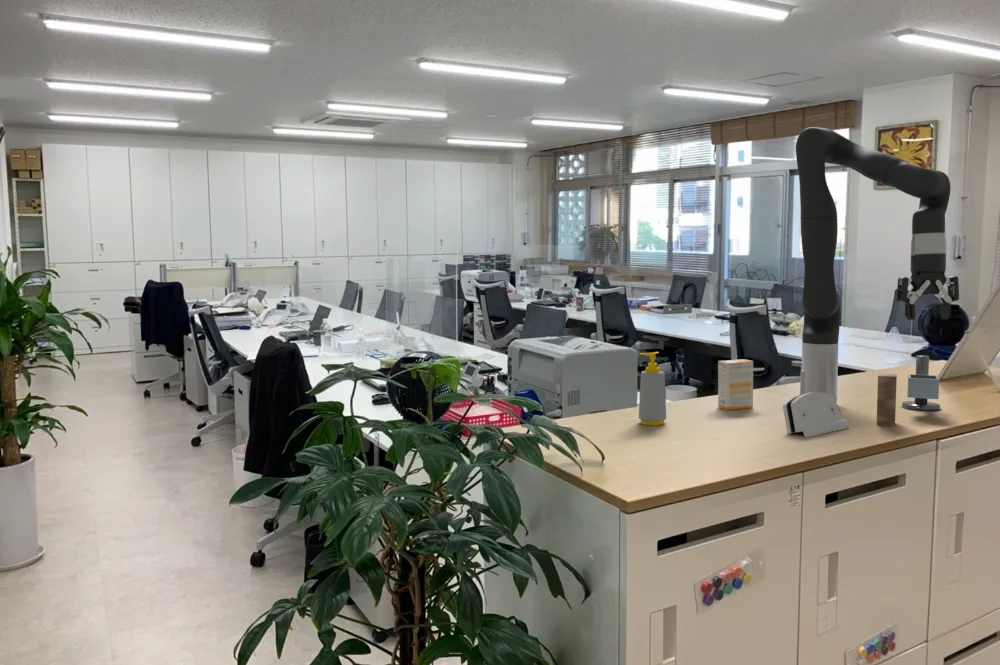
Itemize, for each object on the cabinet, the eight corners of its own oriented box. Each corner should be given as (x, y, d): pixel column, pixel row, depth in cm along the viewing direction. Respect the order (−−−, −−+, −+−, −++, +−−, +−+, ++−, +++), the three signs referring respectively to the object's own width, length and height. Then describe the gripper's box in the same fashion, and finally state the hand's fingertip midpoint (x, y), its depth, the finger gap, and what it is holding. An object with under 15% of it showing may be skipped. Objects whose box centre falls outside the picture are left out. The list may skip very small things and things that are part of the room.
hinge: (805, 437, 174) (793, 394, 176) (788, 440, 178) (777, 398, 180) (850, 428, 182) (838, 387, 184) (833, 431, 186) (821, 391, 188)
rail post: (876, 424, 186) (878, 375, 185) (876, 421, 189) (878, 373, 188) (895, 425, 184) (896, 376, 183) (895, 422, 187) (896, 374, 186)
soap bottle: (633, 421, 194) (633, 351, 192) (657, 419, 196) (658, 350, 194) (646, 427, 187) (646, 354, 185) (671, 424, 189) (672, 353, 187)
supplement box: (743, 405, 212) (744, 358, 211) (753, 408, 208) (754, 360, 207) (717, 407, 210) (717, 360, 209) (726, 410, 206) (727, 362, 204)
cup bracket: (901, 416, 194) (903, 362, 193) (901, 403, 211) (903, 353, 210) (942, 419, 190) (944, 363, 189) (939, 406, 207) (941, 354, 206)
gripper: (946, 253, 189) (945, 318, 190) (891, 254, 188) (890, 319, 189) (966, 251, 182) (966, 319, 183) (909, 252, 181) (908, 320, 182)
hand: (927, 319), depth 186 cm, fingers open, 8 cm apart
